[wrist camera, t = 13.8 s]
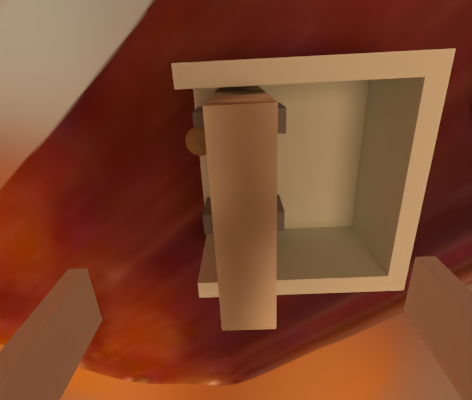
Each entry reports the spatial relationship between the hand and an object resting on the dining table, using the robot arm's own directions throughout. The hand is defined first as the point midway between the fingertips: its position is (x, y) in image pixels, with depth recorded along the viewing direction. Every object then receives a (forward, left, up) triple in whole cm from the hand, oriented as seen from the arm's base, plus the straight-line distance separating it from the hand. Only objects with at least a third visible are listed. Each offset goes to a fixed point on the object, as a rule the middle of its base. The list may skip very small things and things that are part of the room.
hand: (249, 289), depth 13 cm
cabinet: (0, +4, -20) cm, 21 cm away
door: (0, 0, -19) cm, 19 cm away
